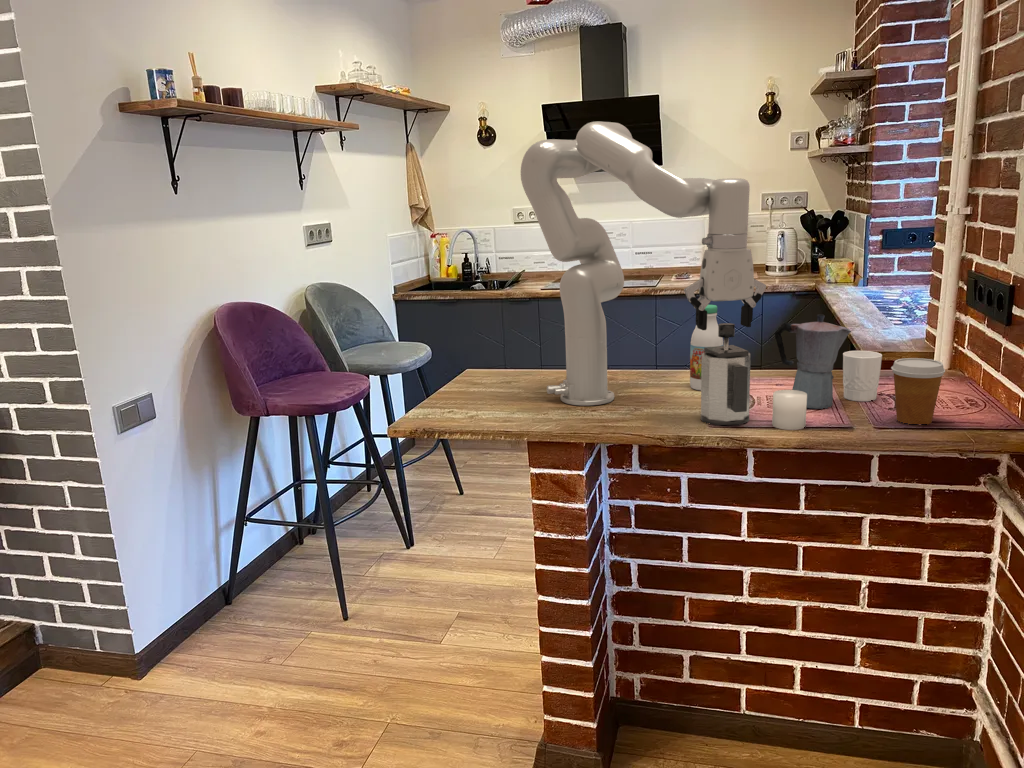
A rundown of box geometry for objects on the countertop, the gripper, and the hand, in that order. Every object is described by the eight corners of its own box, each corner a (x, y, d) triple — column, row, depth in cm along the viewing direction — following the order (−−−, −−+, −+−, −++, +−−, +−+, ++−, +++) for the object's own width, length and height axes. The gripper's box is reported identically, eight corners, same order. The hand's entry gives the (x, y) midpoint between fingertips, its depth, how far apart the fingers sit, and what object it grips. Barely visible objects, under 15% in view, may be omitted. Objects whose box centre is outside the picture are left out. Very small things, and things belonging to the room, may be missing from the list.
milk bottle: (688, 383, 197) (689, 303, 193) (720, 383, 196) (722, 302, 192) (691, 391, 190) (691, 308, 185) (724, 391, 189) (726, 307, 184)
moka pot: (851, 410, 169) (856, 317, 164) (775, 410, 172) (778, 318, 167) (842, 399, 178) (847, 310, 173) (770, 398, 181) (773, 311, 176)
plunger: (717, 395, 161) (718, 328, 158) (702, 388, 168) (703, 323, 165) (748, 392, 163) (750, 325, 159) (732, 385, 169) (734, 320, 166)
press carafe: (718, 431, 159) (719, 357, 156) (693, 415, 171) (693, 346, 167) (763, 426, 161) (765, 353, 158) (735, 411, 172) (736, 342, 169)
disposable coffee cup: (878, 421, 161) (882, 363, 158) (902, 411, 166) (906, 355, 163) (926, 431, 153) (931, 370, 151) (949, 420, 159) (954, 362, 156)
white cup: (873, 393, 181) (876, 350, 179) (883, 402, 174) (886, 357, 171) (837, 393, 183) (839, 350, 180) (845, 402, 175) (847, 358, 173)
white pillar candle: (782, 431, 157) (783, 399, 156) (766, 422, 164) (767, 391, 162) (812, 428, 159) (813, 395, 157) (794, 419, 165) (795, 388, 163)
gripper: (694, 246, 153) (691, 333, 157) (777, 242, 156) (772, 328, 161) (678, 243, 160) (676, 327, 164) (758, 239, 163) (753, 321, 168)
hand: (723, 327), depth 163 cm, fingers open, 9 cm apart
